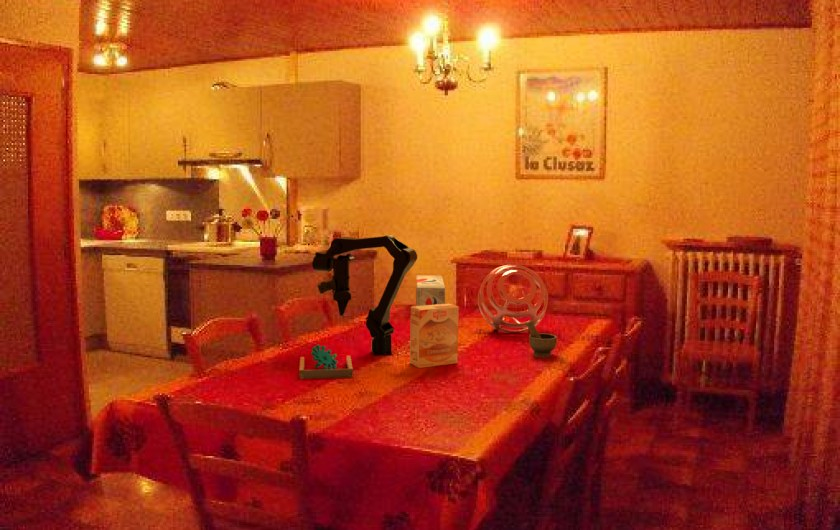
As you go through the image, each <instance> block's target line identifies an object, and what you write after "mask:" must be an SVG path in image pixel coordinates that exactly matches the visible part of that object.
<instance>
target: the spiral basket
mask: <svg viewBox="0 0 840 530" xmlns="http://www.w3.org/2000/svg"><path fill="white" fill-rule="evenodd" d="M522 269H523V270H522ZM501 274H502V275H501ZM499 275H500V277H499V279H498V280H497V281H498V282H497V291H498V294H499V295H500V297H501V298H502V299H503V301H504V302H503V304H499V303H498V301H497V300H496V298H495V297H494V294H493V291H492V290H493V289H492V288H493V282H494V279H495V277H496V276H499ZM512 275H521V276H522V277H524V278H526V279H527V280H528V281H529V284H530V290H529V292H528V294H527V293H525V291H524V290H521V293H522V296H523V297H519V298H518V297H514V296H513V295H514V292H515V290H512V292H511V293H510V294H508V293H507V291H506V289H505V285H504V284H505V282H506V279H508V278H509V276H512ZM486 284H487V285H486ZM485 285H486V295H487V299H488V301H489V303H490V305H491V306H492V308H494V309H495V310H496V312H497V313H496V314H494V313H493V312H492V311H491V310H490V309H489V307H488V306H487V304H486V302H485V298H484V297H485V296H484V289H485ZM479 287H480V288H479V290H478V292H477V293H478V294H477V303H478V305H477V306H478V308H479V312H480V314H481V315H482V318H483V319H484V320H485V321H486V322H487V324H489V325H490V326H491V328H492V329H494V330H496V331H501V332H503V333H508V334H520V333H524V332H528V331H529V329H528V326H526V323H527V322H529V321H533V324H534V326H535V327H536V326H537V325H539V324H540V322H541V321H542V320H543V318H544V316H545V315H546V312H547V307H548V301H549V294H548V289H547V286H546V284H545V282H544V281H543V279H542V278H541V277H540V275H538V273H536V272H535V271H534V270H532V269H530V268H528V267H526V266H523V265H521V264H506V265H502V266H501V265H500V266H499V267H496V268H495V269H493V270H491V271H490V272H489V273H488V274H487V275H486V276H485V278H484V279H483V281H482V283H481V285H480V286H479ZM537 287H538V289H539V290H540V293H539V294H540V295H539V298H538V301H537V302H536V303H535V304H534V305H533V303H532V300H533V299H534V298H535V296H536V294H537V293H536V292H537ZM510 304H511V305H514V306H515V305H516V306H522V305H527V307H528V309H527V310H524V311H513V310H509V309H508V306H509V305H510ZM542 304H543V308H542V309H541V311H540V312H539V313H538V314H537V312H538V311H539V310H540V308H541V306H542ZM484 312H485V313H486V314H485V313H484ZM487 316H488V317H489V318H488V317H487ZM505 316H506V317H509V318H512V321H514V322H509V321H505V319H506V317H505ZM525 317H530V319H529V320H528V321H524V322H521V321H519V320H518V319H521V318H525ZM490 319H491V320H490ZM501 326H504V327H506V328H504V327H501ZM507 328H513V329H507ZM517 328H522V329H517Z"/></svg>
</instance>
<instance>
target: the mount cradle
mask: <svg viewBox="0 0 840 530" xmlns="http://www.w3.org/2000/svg"><path fill="white" fill-rule="evenodd" d="M299 359H300V360H299V370H298V373H299V380H303V379H304V380H305V379H307V380H309V379H310V380H311V379H341V378H342V379H345V378H346V379H347V378H353V377H354V371H353V370H354V368H353V364H352V358H351V355H346V367H347V368H335V369H329V368H328V369H323V368H322V369H305V357H304V356H300V358H299Z"/></svg>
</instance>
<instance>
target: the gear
mask: <svg viewBox="0 0 840 530" xmlns="http://www.w3.org/2000/svg"><path fill="white" fill-rule="evenodd" d="M325 349H327V348H326V346H325V345H322V346H321V345H320V344H316V345H315V346H313V347H312V348H311V350H312V351H311V353H310V354H311V356H313V357H312V361H314V362H317V363H316V364H315V365H314V366H313V367H314V368H315V369H317V368H319V367H321V366H322V365H323V367H322V369H337V367H338V366H337V364H338V362H339V361H338V360H336V357H337V356H338V355H337V353H334V354H331V353H332V350H331V349H327V350H325Z"/></svg>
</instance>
